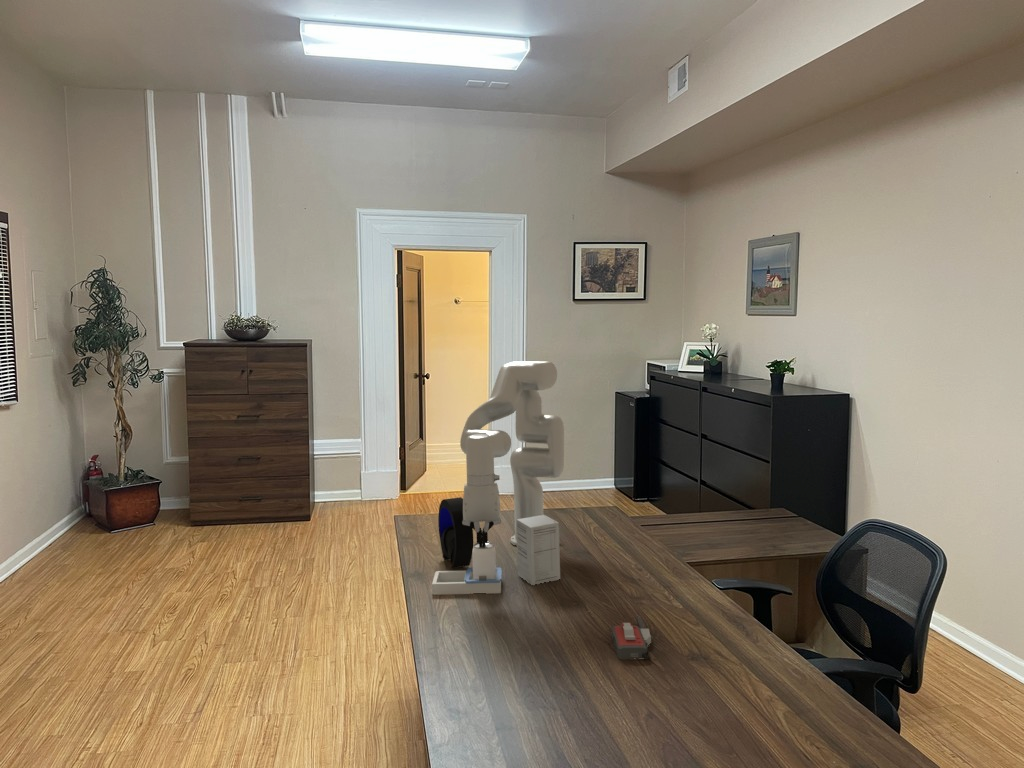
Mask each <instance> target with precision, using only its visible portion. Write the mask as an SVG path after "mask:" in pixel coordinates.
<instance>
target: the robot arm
mask: <svg viewBox="0 0 1024 768" xmlns="http://www.w3.org/2000/svg"><path fill="white" fill-rule="evenodd" d="M557 370H558V369H557V367H556V365H555V364H554V362H552V361H549V360H548V361H546V360H545V361H544V360H535V361H534V360H533V361H532V360H517V361H510V362H507V363H505V364H503V365H502V366H501V367H500V368H499V371H498V374H497V376H496V379H495V382H494V386H493V388H492V391H491V394H490V397H489V399H487V400H486V401H485V402H483V403H482V404H481V405H479V406H478V407H477V408H476V409H474V410H473V411H472V412H471V413H470V415H469V416H468V417H467V419H466V421H465V424H464V426H463V429H462V431H461V432H462V433H461V436H460V442H459V443H460V449H461V451H462V452H463V453H464V454H465V456H466V459H465V461H466V463H465V464H466V483H464V487H463V496H462V498H463V521H462V524H463V525H467V526H471V527H472V528H473V531H474V532H475V534H476V543H479V547H481V546H483V547H485V543H488V542H489V538H488V532H489V530H490V529H491V528H492V527H493V526H497V525H500V524H501V523H502V519H501V504H500V503H501V501H500V492H499V487H498V483H497V482H496V481H500V474H495V458H502V457H504V456H506V455H507V454H509V452H510V450H511V448H512V438H511V436H510V435H509V433H507V432H506V431H504V430H499V429H482V428H483V427H485V426H486V425H488V424H490V423H492V422H495V421H498V420H501V419H504V418H507V417H509V416H511V415H513V414H514V413H515V424H514V425H515V437H516V439H517V441H518V442H520V443H525V444H544V445H547V447H535V446H532V447H531V446H522V447H521V446H520V447H517V448H516V449H514V450H513V451H512V452H511V454H510V458H509V462H510V469H511V474H512V481H513V503H514V504H513V505H514V507H513V508H514V535H512V536H511V537H510V543H511V544H512V545H513V546H515V545H516V547H517V524H516V520H517V519H523V518H528V517H534V516H540V515H544V491H543V490H544V489H543V487H542V484H541V482H540V481H539V479H538V478H545V479H546V478H548V479H550V478H551V479H555V478H560V477H561V476H562V474H563V471H564V468H565V467H564V466H565V465H564V464H565V426H564V422H563V420H562V418H561V417H560V416H559V415H557V414H543V412H542V410H543V409H542V407H543V406H542V404H543V401H542V397H541V395H540V393H539V391H544V390H549V389H550V388H553V387H554V386H555V384H556V382H557V379H558V371H557ZM480 522H484V525H483V528H481V526H480Z"/></svg>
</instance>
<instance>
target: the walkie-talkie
mask: <svg viewBox="0 0 1024 768" xmlns="http://www.w3.org/2000/svg"><path fill="white" fill-rule="evenodd" d="M636 620H637V624H638V625H635V624H634V625H633V624H632V622H621V625H614V626H612V627H611V638H612V642H614V643H613V646H614V645H615V646H614V649H616V650H615V654H616V653H617V654H616V656H617V659H618V658H620V659H619V660H621V659H630V660H635V659H634V658H644V659H643V660H645V659H646V660H647V659H649V658H650V652H649V649H648V647H649V646H650V645H649V644H650V643H651V644H652V635H651V633H650V632H651V631H650V628H646V627H645V625H644V624H645V623H644V622H643V620H642V617H641V616H638V617H636ZM648 645H649V646H648Z"/></svg>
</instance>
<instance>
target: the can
mask: <svg viewBox="0 0 1024 768" xmlns="http://www.w3.org/2000/svg"><path fill="white" fill-rule="evenodd" d="M496 552H497V551H496V548H495V544H494V543H493V542H490V541H488V543H485V547H483V546H481V547H479V543H477V542H476V543H475V542H474V543H473V550H472V558H471V559H472V568H473V580H477V579H479V576H487V579H497V578H496V568H497V557H496V556H497V553H496Z"/></svg>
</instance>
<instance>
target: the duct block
mask: <svg viewBox="0 0 1024 768" xmlns="http://www.w3.org/2000/svg"><path fill="white" fill-rule="evenodd" d="M502 573H503V569H502V568H501V567H496V578H497V579H487V576H479V579H477V580H473V567H468V568H467V569H466V570H436V571H435V572H434V577H433V579H432V583H431V591H432V592H431V593H432V595H435V596H436V595H441V596H442V595H473V593H486V594H501V593H502V576H503V575H502ZM470 593H471V594H470Z"/></svg>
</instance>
